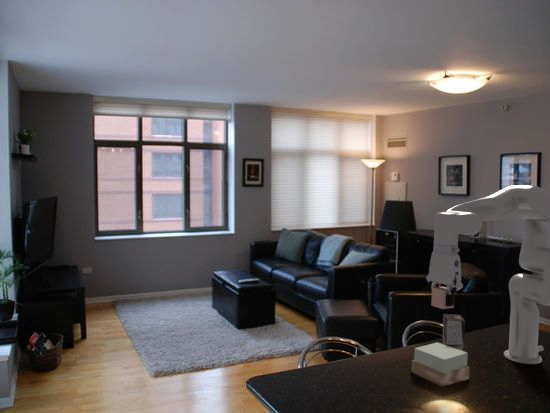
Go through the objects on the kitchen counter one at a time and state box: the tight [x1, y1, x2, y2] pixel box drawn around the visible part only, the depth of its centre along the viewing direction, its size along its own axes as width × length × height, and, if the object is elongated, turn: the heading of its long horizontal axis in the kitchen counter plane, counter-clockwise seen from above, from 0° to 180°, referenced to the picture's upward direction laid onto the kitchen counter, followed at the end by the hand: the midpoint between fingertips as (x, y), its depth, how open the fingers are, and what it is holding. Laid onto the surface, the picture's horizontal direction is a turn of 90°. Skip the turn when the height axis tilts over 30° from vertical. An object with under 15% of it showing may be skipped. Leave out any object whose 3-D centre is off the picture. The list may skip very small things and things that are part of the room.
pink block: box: [430, 286, 455, 310], centre depth 161 cm, size 5×5×6 cm
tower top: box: [413, 342, 468, 373], centre depth 162 cm, size 12×12×4 cm
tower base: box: [411, 359, 471, 387], centre depth 163 cm, size 13×13×4 cm
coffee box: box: [441, 313, 466, 352], centre depth 176 cm, size 9×6×16 cm
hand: (442, 303), depth 161 cm, fingers closed on pink block, 5 cm apart
